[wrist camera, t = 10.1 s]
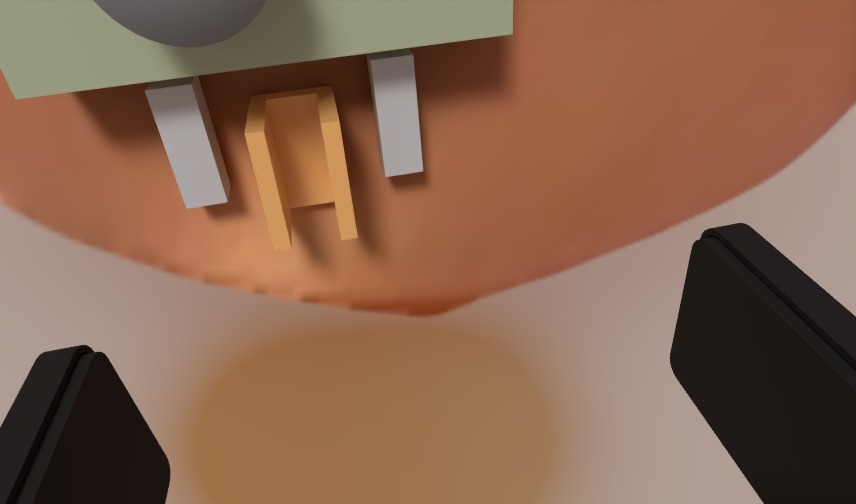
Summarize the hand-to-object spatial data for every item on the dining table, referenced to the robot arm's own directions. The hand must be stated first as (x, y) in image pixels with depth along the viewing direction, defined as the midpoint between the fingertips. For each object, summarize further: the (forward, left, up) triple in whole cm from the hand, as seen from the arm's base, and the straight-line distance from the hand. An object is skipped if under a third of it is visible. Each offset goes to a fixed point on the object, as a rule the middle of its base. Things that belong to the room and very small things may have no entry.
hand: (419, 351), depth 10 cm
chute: (+2, +6, -22) cm, 23 cm away
